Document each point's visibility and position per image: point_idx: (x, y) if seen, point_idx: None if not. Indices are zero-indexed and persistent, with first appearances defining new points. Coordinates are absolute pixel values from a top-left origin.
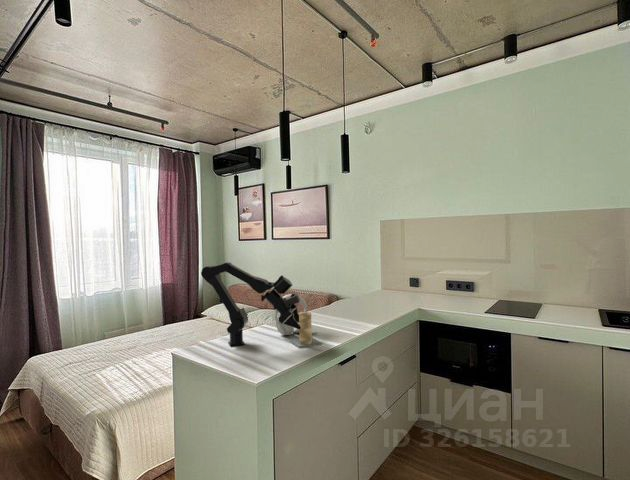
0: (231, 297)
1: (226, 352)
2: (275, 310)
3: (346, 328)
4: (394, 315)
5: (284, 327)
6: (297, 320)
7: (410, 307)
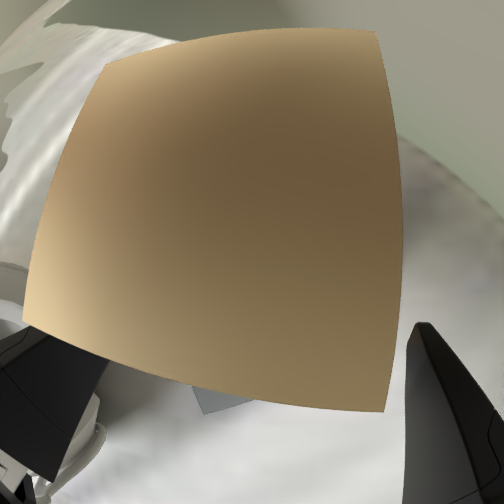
0: None
1: None
2: None
3: (78, 97)
4: (54, 33)
5: (80, 445)
6: (93, 366)
7: (33, 32)
